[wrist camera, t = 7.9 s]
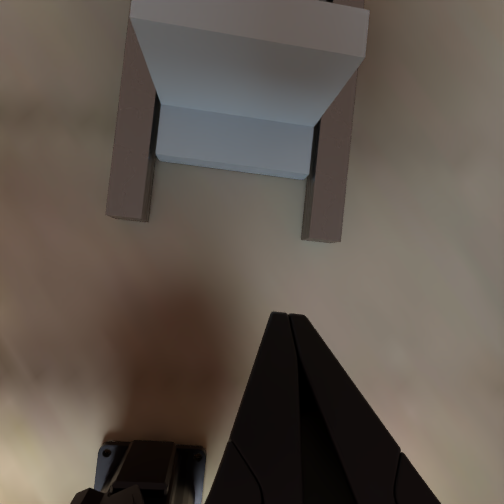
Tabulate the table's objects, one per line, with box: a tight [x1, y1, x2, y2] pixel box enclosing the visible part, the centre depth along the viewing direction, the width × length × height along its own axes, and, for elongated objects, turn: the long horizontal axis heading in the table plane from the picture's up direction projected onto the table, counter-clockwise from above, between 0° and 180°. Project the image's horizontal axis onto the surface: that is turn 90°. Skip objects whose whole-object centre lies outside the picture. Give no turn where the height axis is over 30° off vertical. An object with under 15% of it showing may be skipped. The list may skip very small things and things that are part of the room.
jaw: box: [130, 0, 370, 180], centre depth 18 cm, size 6×9×9 cm, turn 84°
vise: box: [106, 0, 364, 243], centre depth 19 cm, size 17×14×6 cm
